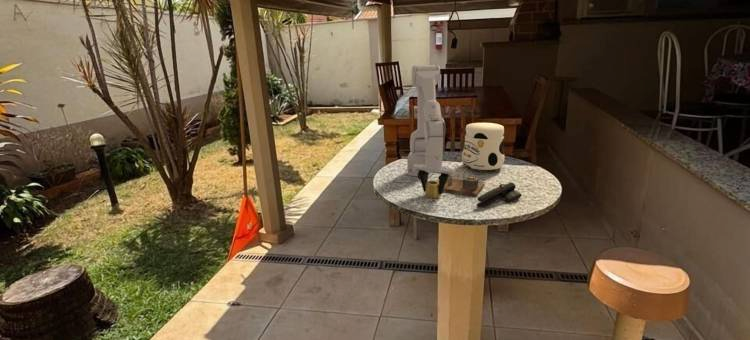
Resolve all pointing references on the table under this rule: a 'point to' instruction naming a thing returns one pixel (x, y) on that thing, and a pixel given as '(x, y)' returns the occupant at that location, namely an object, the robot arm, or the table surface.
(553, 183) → the table surface
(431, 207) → the table surface
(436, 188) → the brass gear
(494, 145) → the milk container
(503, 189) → the can opener
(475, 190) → the gear board
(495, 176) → the table surface
